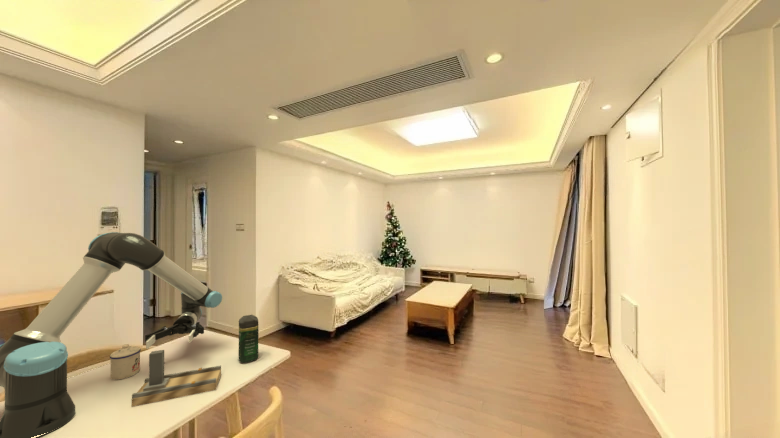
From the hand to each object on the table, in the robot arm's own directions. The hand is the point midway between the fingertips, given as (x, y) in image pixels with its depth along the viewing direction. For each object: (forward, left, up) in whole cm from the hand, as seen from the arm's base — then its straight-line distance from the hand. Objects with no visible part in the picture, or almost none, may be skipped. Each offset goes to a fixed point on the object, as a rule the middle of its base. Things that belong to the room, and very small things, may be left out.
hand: (168, 342), depth 110 cm
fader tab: (0, -11, -11) cm, 15 cm away
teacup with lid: (-17, +11, -14) cm, 25 cm away
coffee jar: (+28, +5, -14) cm, 31 cm away
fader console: (+7, -11, -14) cm, 19 cm away
